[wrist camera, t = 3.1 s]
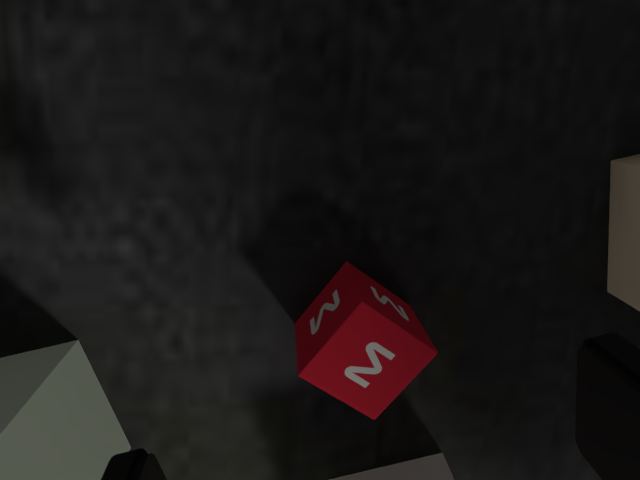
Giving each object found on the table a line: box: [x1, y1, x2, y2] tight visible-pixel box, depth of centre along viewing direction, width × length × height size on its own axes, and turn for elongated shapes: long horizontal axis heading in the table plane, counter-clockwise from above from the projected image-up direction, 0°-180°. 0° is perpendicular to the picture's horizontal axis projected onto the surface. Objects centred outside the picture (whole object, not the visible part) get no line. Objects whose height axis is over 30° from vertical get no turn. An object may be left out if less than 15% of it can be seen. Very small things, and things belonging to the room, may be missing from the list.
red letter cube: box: [295, 262, 438, 420], centre depth 14 cm, size 3×3×3 cm
